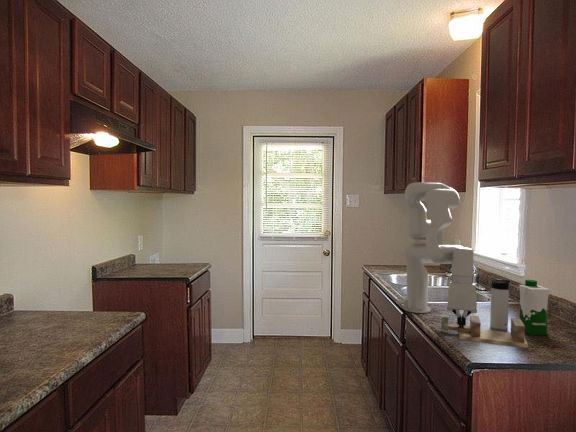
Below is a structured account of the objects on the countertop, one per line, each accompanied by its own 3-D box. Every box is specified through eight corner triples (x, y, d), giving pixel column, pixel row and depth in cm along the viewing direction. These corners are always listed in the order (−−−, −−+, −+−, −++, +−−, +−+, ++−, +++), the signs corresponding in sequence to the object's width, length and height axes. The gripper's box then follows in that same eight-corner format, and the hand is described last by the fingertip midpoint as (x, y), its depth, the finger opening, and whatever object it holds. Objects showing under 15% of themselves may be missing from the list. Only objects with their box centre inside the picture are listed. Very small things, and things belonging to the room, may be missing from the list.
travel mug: (510, 332, 154) (512, 281, 153) (492, 331, 155) (494, 281, 155) (505, 327, 160) (507, 278, 160) (488, 326, 162) (489, 278, 161)
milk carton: (536, 328, 160) (538, 279, 159) (551, 335, 151) (553, 284, 150) (515, 328, 160) (516, 279, 159) (528, 335, 151) (530, 284, 150)
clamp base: (459, 338, 146) (460, 319, 146) (459, 329, 157) (459, 311, 157) (527, 347, 138) (528, 327, 137) (522, 337, 149) (522, 318, 148)
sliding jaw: (441, 331, 149) (441, 318, 149) (441, 324, 159) (441, 312, 158) (480, 336, 144) (480, 323, 144) (478, 328, 153) (478, 316, 153)
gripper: (441, 279, 150) (440, 327, 150) (484, 282, 144) (483, 332, 145) (441, 276, 157) (440, 322, 157) (482, 279, 151) (481, 326, 152)
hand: (461, 326), depth 151 cm, fingers closed
